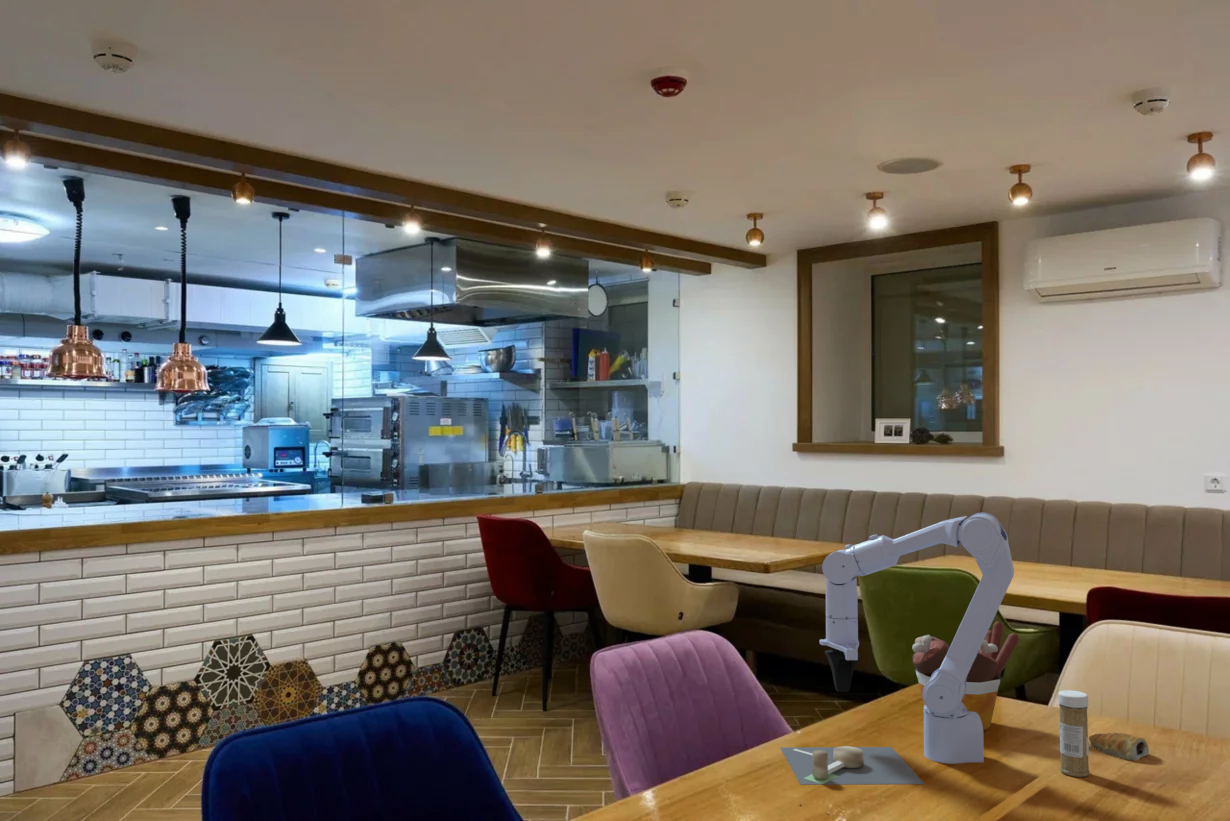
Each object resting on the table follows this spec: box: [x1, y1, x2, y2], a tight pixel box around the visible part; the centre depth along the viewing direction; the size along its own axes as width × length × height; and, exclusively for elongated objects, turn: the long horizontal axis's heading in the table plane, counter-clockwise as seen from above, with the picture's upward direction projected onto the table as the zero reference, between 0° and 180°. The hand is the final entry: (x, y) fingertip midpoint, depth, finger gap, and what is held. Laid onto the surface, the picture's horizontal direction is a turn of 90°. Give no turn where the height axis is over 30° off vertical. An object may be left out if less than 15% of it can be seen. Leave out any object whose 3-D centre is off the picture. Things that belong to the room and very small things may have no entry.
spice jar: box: [1057, 689, 1090, 778], centre depth 160 cm, size 5×5×14 cm
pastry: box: [1088, 732, 1150, 761], centre depth 171 cm, size 9×7×4 cm
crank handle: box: [813, 745, 864, 779], centre depth 158 cm, size 13×5×4 cm, turn 136°
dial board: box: [780, 746, 925, 786], centre depth 161 cm, size 20×18×1 cm
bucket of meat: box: [911, 621, 1020, 732], centre depth 187 cm, size 20×16×20 cm
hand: (842, 691), depth 173 cm, fingers closed
